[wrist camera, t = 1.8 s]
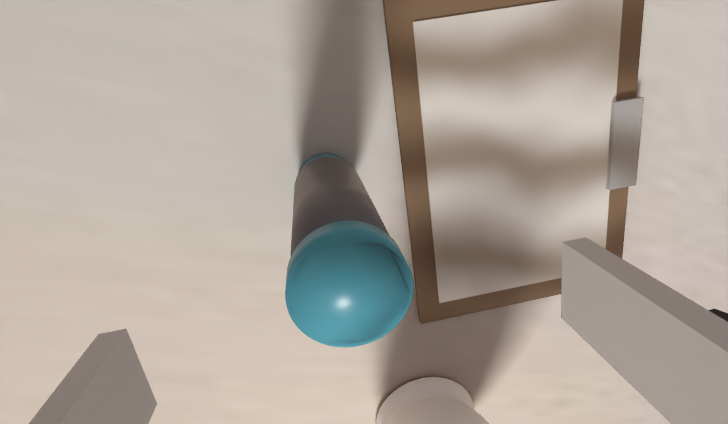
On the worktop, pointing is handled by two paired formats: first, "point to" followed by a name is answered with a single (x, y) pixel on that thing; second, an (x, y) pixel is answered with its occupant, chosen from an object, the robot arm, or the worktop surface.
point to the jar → (429, 404)
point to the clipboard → (512, 140)
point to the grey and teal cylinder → (342, 259)
